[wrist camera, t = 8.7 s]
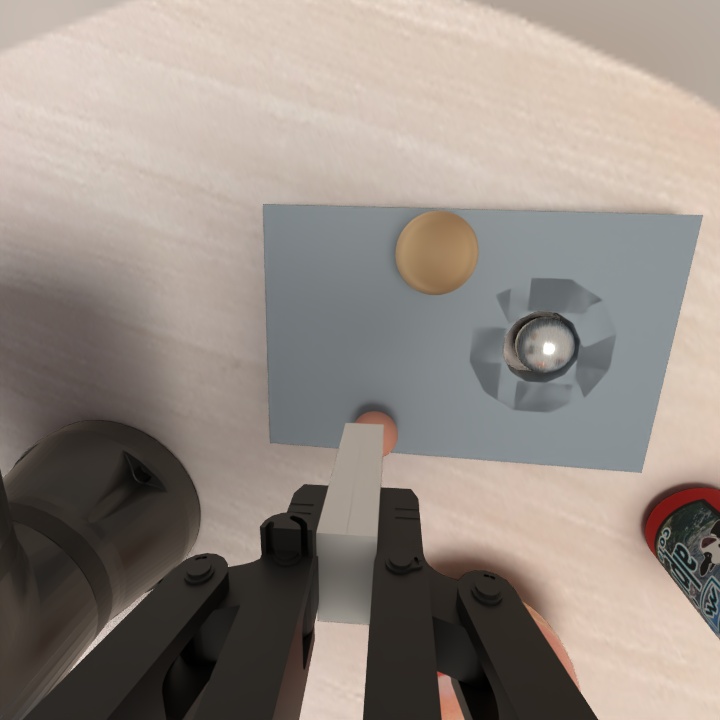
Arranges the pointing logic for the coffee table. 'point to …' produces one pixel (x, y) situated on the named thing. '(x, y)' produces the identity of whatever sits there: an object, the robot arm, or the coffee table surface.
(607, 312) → the plate
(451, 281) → the wooden ball
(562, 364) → the steel ball
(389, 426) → the rubber ball
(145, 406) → the coffee table surface
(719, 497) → the beverage can
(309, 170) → the coffee table surface
